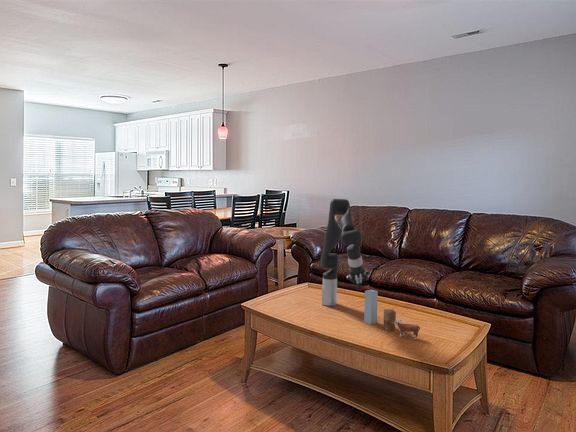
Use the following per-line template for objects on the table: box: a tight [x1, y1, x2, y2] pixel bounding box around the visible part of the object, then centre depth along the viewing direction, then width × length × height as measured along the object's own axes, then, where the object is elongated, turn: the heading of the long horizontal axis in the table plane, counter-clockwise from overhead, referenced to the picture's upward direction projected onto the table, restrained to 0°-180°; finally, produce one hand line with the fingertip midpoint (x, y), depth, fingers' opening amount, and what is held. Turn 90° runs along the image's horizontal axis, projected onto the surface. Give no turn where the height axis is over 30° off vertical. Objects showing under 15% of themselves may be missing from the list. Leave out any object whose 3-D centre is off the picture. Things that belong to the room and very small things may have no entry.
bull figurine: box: [394, 319, 421, 340], centre depth 215 cm, size 4×13×8 cm, turn 59°
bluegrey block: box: [363, 289, 379, 325], centre depth 236 cm, size 5×5×18 cm
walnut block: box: [382, 308, 397, 331], centre depth 226 cm, size 5×5×10 cm
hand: (359, 286), depth 231 cm, fingers closed
